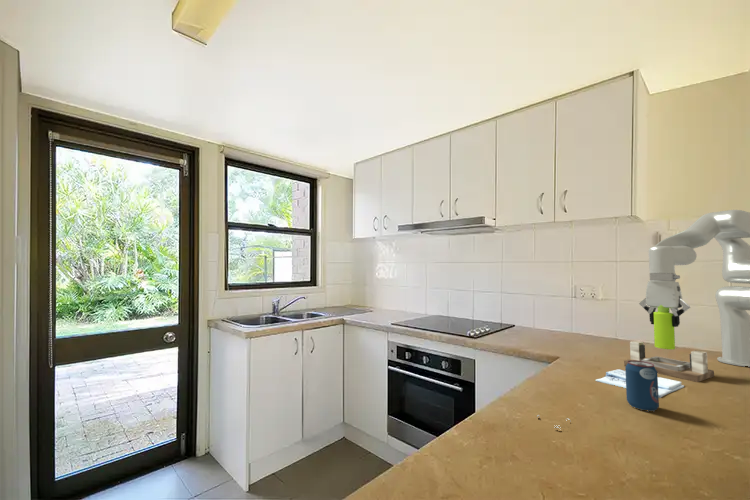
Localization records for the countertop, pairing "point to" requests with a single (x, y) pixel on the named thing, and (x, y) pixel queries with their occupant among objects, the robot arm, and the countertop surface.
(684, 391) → the countertop surface
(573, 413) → the countertop surface
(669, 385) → the folded white towel
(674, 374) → the rail
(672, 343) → the soap dispenser
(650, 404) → the soda can
